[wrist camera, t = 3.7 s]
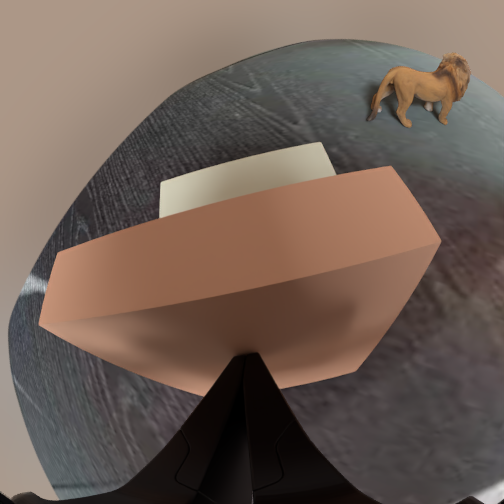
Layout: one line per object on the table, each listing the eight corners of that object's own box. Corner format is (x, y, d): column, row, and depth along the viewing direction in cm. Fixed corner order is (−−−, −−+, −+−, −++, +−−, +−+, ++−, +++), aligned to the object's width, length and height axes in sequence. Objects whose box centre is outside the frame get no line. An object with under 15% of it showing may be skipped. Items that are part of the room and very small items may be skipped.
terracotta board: (355, 371, 16) (441, 241, 4) (209, 397, 17) (38, 324, 5) (347, 337, 17) (391, 165, 6) (206, 364, 18) (57, 252, 7)
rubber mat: (382, 308, 17) (384, 307, 17) (167, 351, 19) (164, 351, 18) (320, 145, 24) (320, 141, 24) (163, 185, 26) (160, 182, 25)
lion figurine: (439, 98, 25) (452, 45, 17) (464, 123, 23) (484, 68, 15) (355, 111, 26) (359, 42, 18) (382, 140, 23) (396, 66, 15)
